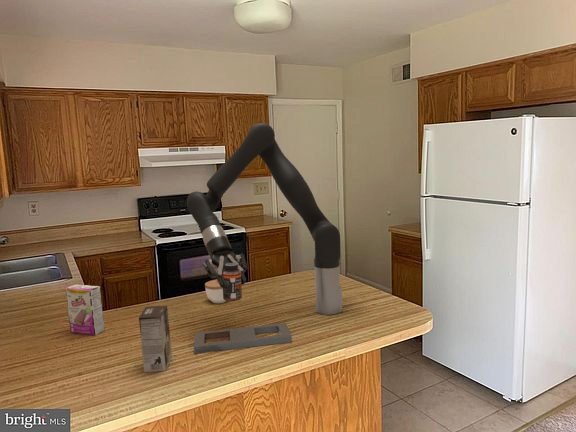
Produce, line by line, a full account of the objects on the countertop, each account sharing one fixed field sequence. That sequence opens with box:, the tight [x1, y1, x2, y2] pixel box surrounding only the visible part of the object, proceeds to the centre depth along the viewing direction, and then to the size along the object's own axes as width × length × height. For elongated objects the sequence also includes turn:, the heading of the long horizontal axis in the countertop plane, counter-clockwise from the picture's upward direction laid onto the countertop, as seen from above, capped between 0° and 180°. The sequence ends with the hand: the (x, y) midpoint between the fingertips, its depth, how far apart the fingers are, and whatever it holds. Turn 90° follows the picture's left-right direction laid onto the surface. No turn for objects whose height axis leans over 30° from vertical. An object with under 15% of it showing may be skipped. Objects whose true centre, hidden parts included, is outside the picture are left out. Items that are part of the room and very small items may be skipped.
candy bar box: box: [64, 283, 106, 336], centre depth 152 cm, size 11×5×16 cm, turn 71°
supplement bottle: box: [222, 263, 243, 302], centre depth 137 cm, size 6×6×11 cm
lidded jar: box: [204, 279, 227, 304], centre depth 179 cm, size 11×11×9 cm
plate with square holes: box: [193, 322, 293, 354], centre depth 140 cm, size 30×11×2 cm, turn 99°
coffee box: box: [138, 304, 173, 373], centre depth 125 cm, size 9×6×16 cm
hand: (234, 285), depth 136 cm, fingers closed on supplement bottle, 6 cm apart
